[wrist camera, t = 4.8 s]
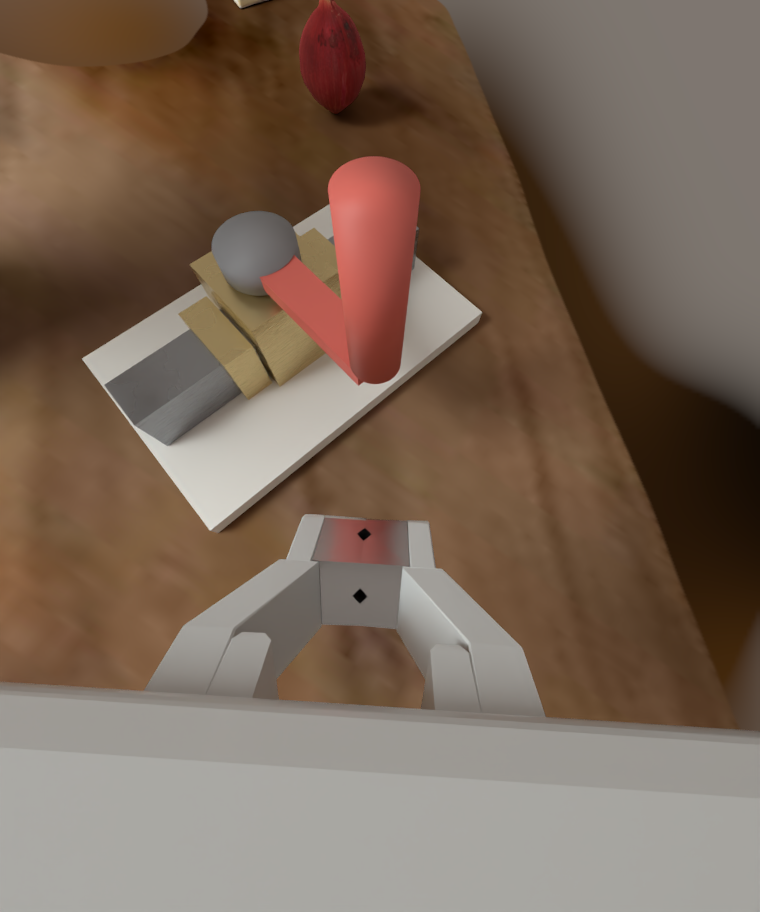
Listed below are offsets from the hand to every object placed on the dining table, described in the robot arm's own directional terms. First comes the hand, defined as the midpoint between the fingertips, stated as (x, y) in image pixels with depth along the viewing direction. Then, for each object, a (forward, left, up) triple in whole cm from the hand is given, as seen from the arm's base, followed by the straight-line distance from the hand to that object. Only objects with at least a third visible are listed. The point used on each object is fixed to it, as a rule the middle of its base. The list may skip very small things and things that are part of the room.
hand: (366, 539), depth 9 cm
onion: (-6, +42, -15) cm, 45 cm away
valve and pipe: (-7, +15, -14) cm, 22 cm away
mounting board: (-7, +15, -14) cm, 22 cm away
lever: (-4, +12, -7) cm, 15 cm away
